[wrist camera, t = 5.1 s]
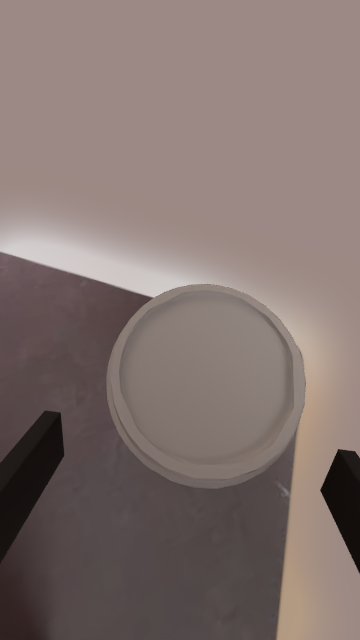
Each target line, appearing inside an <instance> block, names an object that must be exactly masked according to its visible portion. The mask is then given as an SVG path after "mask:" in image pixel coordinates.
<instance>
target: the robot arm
mask: <svg viewBox="0 0 360 640" xmlns="http://www.w3.org/2000/svg"><path fill="white" fill-rule="evenodd" d="M63 457H64V447H63V435H62V423H61V413H59V412H51V411H44V412H43V414H42V415H41V416H40V417H39V418H38V419H37V421H36V422H35V423H34V424H33V425H32V427H31V428H30V429H29V430H28V431H27V432H26V434H25V435H24V436H23V437H22V438H21V440H20V441H19V442H18V443H17V444H16V445H15V447H14V448H13V449H12V450H11V451H10V453H9V454H8V455H7V456H6V457H5V458H4V460H3V461H2V462H1V463H0V563H1V561H2V560H3V558H4V556H5V555H6V553H7V551H8V549H9V548H10V546H11V544H12V543H13V541H14V539H15V538H16V536H17V534H18V533H19V531H20V529H21V528H22V526H23V524H24V522H25V521H26V519H27V517H28V516H29V514H30V512H31V511H32V509H33V507H34V506H35V504H36V502H37V501H38V499H39V497H40V495H41V494H42V492H43V490H44V489H45V487H46V485H47V484H48V482H49V480H50V479H51V477H52V475H53V474H54V472H55V470H56V469H57V467H58V465H59V463H60V462H61V460H62V458H63ZM320 491H321V493H322V495H323V497H324V499H325V501H326V503H327V505H328V508H329V510H330V512H331V514H332V516H333V518H334V520H335V522H336V525H337V526H338V529H339V531H340V533H341V535H342V537H343V539H344V541H345V544H346V546H347V548H348V550H349V552H350V554H351V556H352V558H353V560H354V562H355V565H356V567H357V569H358V571H359V573H360V458H359V456H358V455H357V454H356V452H355V451H347V450H340V449H338V451H337V453H336V456H335V458H334V460H333V463H332V465H331V467H330V469H329V472H328V474H327V476H326V479H325V481H324V483H323V486H322V488H321V490H320Z"/></svg>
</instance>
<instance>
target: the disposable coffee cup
mask: <svg viewBox="0 0 360 640" xmlns="http://www.w3.org/2000/svg"><path fill="white" fill-rule="evenodd" d="M106 382H107V400H108V404H109V408H110V412H111V416H112V419H113V421H114V423H115V426H116V428H117V430H118V433H119V435H120V436H121V438H122V439H123V440H124V442H125V443H126V445H127V446H128V448H129V449H130V451H131V452H132V453H133V454H134V455H135V456H136V457H137V458H138V459H139V460H140V461H141V462H142V463H143V464H144V465H145V466H146V467H148V468H150V469H151V470H153V471H155V472H156V473H158V474H160V475H161V476H163V477H165V478H166V479H168V480H170V481H173V482H176V483H180V484H183V485H187V486H190V487H197V488H213V489H216V488H221V487H226V486H231V485H236V484H241V483H243V482H245V481H247V480H249V479H251V478H253V477H255V476H257V475H259V474H261V473H263V472H264V471H265V470H266V469H267V468H268V467H269V466H271V465H272V464H273V463H274V462H275V461H276V460H277V459H278V458H279V457H280V456H281V455H282V454H283V452H284V451H285V449H286V448H287V446H288V445H289V443H290V442H291V440H292V439H293V436H294V434H295V431H296V429H297V426H298V424H299V421H300V418H301V414H302V411H303V408H304V402H305V387H306V381H305V373H304V366H303V362H302V359H301V356H300V353H299V350H298V347H297V345H296V344H295V341H294V339H293V337H292V336H291V334H290V333H289V331H288V330H287V328H286V327H285V326H284V324H283V323H282V321H281V320H280V319H279V318H278V317H277V316H276V315H275V314H274V313H273V312H271V311H270V310H269V309H268V308H267V307H266V306H265V305H264V304H262V303H260V302H259V301H257V300H256V299H254V298H253V297H251V296H249V295H247V294H245V293H242V292H240V291H237V290H235V289H232V288H228V287H223V286H218V285H210V284H199V285H188V286H183V287H178V288H175V289H172V290H169V291H167V292H164V293H162V294H160V295H159V296H157V297H155V298H153V299H151V300H150V301H149V302H148V303H146V304H145V305H144V306H142V307H141V308H140V309H139V310H138V311H137V312H136V313H135V314H134V316H133V317H132V318H131V319H130V320H129V321H128V323H127V325H126V326H125V327H124V329H123V330H122V332H121V333H120V335H119V337H118V339H117V341H116V343H115V345H114V347H113V350H112V353H111V356H110V360H109V363H108V371H107V378H106Z"/></svg>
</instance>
